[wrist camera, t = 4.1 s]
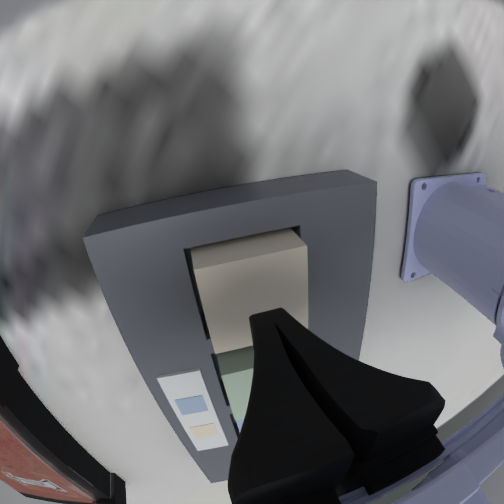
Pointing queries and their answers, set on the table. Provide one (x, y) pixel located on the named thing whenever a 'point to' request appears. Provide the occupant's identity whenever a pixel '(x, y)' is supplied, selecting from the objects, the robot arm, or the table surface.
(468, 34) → the table surface
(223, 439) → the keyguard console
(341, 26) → the table surface
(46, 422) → the book
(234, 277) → the sand key
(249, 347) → the sage key
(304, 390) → the robot arm
